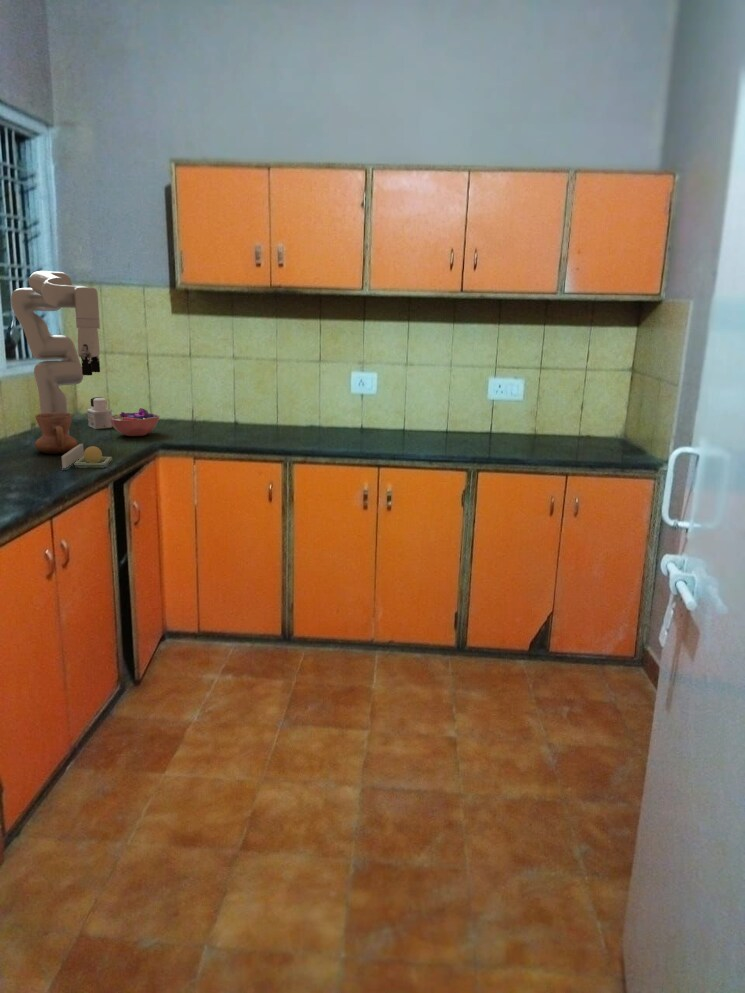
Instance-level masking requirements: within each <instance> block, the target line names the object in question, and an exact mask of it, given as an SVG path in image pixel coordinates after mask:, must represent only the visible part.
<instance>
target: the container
mask: <svg viewBox="0 0 745 993" xmlns="http://www.w3.org/2000/svg"><path fill="white" fill-rule="evenodd" d="M86 411H87V421H88V422H87V423H88V424H87V425H88V427H90V428H92V429H94V430H99V429H110V428H112V427H113V426H112V423H111V418H110V417H112V416H113V415H112V410H111V409H108V403H107V398H106V397H101V396H99V397H98V396H97V397H92V398H91V399H90V408H87V410H86Z"/></svg>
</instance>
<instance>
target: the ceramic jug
mask: <svg viewBox="0 0 745 993" xmlns="http://www.w3.org/2000/svg"><path fill="white" fill-rule="evenodd" d="M72 419H73V417H72V413H70V412H67V413H63V412H54V413H51V412H48V413H41V412H40V413H37V414H36V415H35V420H36V423H37V425H38V427H39V429H40V430H41V433H42V435H41V436H40V437H39V438H37V439H36V441H35V442H34V447H35V449H36V450H37V451H39V452H41V453H44V454H52V455H60V454H59V453H61V454H66V453H67V452H69V451H70V450H71V449H73V448H74V447H76V446H77V445H78V440H77V439H76V438H74V436H71V435H70V433H69V434H68V431H69V432H70V429H71V428H70V427H71V423H72Z"/></svg>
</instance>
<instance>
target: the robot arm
mask: <svg viewBox="0 0 745 993" xmlns="http://www.w3.org/2000/svg"><path fill="white" fill-rule="evenodd" d="M72 282H73V281H72V279H71V277H70V276H69V275H68V274H67V273H65V272H62V271H49V270H37V271H34V272H32V274H31V275H30V276H29V277H28V285H29V286H30V287H21V288H17V289H14V290H13V291H12V292H11V296H10V303H11V307H12V311H13V313H14V316H15V317H16V319H17V321H18V322H19V324H20V325H21V327H22V330H23V332H24V335H25V338H26V341H27V344H28V348H29V349H30V352H31V354H32V356H33V358H34V359H36V360H38V361H40V362H38V363H36V365H35V366H34V369H33V374H34V379H35V381H36V385H37V386H36V387H37V389H38V397H39V399H38V400H39V406H40V409H39V411H40V414H41V413H48V412H51V413H54V412H63V413H68V406H67V405H68V404H67V396H66V394H65V393H64V391H62V389H61V388H60V386H72V385H73V386H74V385H78V384H80V383H82V382H83V379H84V376H93V373H101V365H100V354H101V353H100V352H101V351H100V339H99V330H98V329H101V326H100V325H101V323H100V310H99V309H100V308H99V307H100V306H99V295H98V290H97V289H96V288H95V287H93V286H84V285H73V283H72ZM63 308H65V309H67V308H69V309H72V308H73V309H74V310H75V312H74V313H75V324H76V326H75V327H76V329H78V330H77V350H76V346H75V344H74V342H73V340H72V339H71V338H70V337H69V336H68V335H64V334H51V332H50V330H49V327H48V325H47V323H46V321H45V320H44V319H43V318H42V317H41V316H40V315H38V314H37V313H36V312H55V311H56V312H57V311H59V310H61V309H63ZM35 311H36V312H35ZM80 359H81V361H80ZM68 434H69V435H70V430H69V431H68Z"/></svg>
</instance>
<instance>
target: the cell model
mask: <svg viewBox="0 0 745 993" xmlns="http://www.w3.org/2000/svg"><path fill="white" fill-rule="evenodd" d="M160 417H161V415H158V414H154V413H149V412H148V410H147V409H145V408H139V409H138V412H123V411H121V413H119V414H115V415H112V417H110V418H111V423H112V427H113V428H114V429H115V430H116V431H117V432H118V433H119V434H121V435H123V436H127V437H142V436H146V435H148V434H150V433H151V432H153V431H154V429H155V427H156V426H157V425H158V422H159V420H160Z"/></svg>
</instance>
